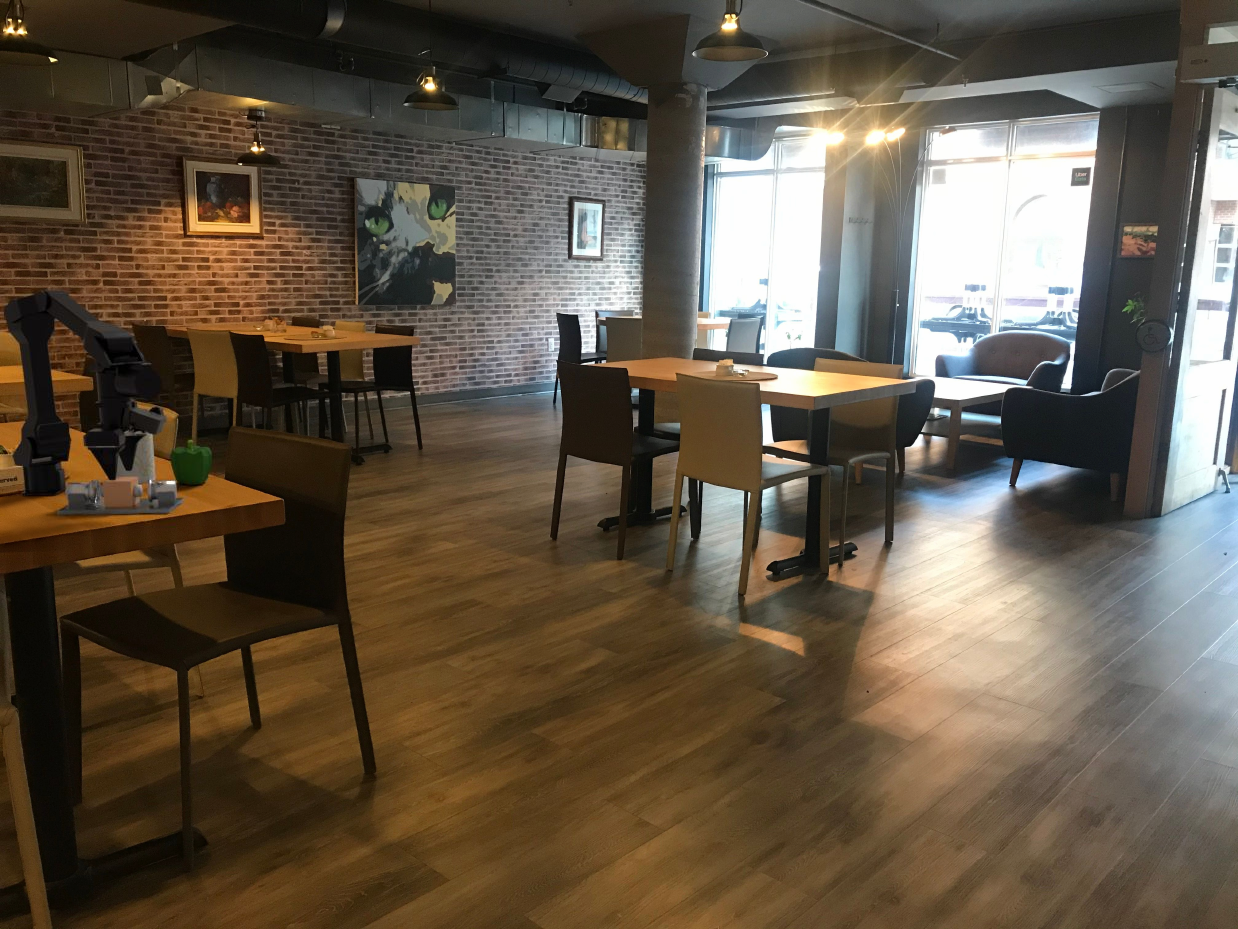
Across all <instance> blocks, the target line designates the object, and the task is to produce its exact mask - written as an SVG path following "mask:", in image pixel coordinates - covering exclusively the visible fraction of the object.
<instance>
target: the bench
mask: <svg viewBox="0 0 1238 929" xmlns="http://www.w3.org/2000/svg"><path fill="white" fill-rule="evenodd" d="M101 486H102V484H101V482H100V480H99V479H92V480H91V481H86V482H85V481H84V482H83V481H79V482H75V481H73V482H67V483H66V489H65V498H66V500H67V501H68V502H67V504H66V505H65V506H63V507H61V508H60V509H58V510H56V511H57V515H58V516H61V515H62V516H64V515H66V516H67V515H69V516H74V515H76V514H77V515H78V514H83V515H136V514H137V515H138V514H139V513H155V514H171V512H173V511H174V510H176V508H178V507H179V506H180V505H182V503H183V504H184V500H185V499H184V497H177V498H176V503H175V505H161V506H158V500H153V502H149V500H148V497H145V498H143V497H140V501H139V502H138V503H137V504H135V505H134V506H132V507H105V504H104V498H102V497H101V495H100V488H101ZM77 515H76V516H77ZM139 515H140V514H139Z"/></svg>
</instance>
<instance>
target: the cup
mask: <svg viewBox="0 0 1238 929" xmlns="http://www.w3.org/2000/svg"><path fill="white" fill-rule="evenodd" d="M139 433H140V434H147V435H146V436H145V437H144V438H143V439H142V440H141V441H140V442H139V443H138V446H137V450H136V454H135V459H134V464H133V468H132V470H131V471H126V470H125V468H124V466H123V464H122V461H121V459H120V456H119V454H118V466H117V476H116V477H138V483H140V484H146V483H145V482H147V483H148V479H152V481H153V480H154V481H156V468H155V467H156V466H155V451H154V440H153V436H154V435H153V434H149V433H142V431H139Z"/></svg>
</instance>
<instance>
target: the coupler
mask: <svg viewBox="0 0 1238 929" xmlns="http://www.w3.org/2000/svg"><path fill="white" fill-rule="evenodd" d="M143 491H144V490H143V485H142V484H139V483H138V477H116V480H109V479H108V478H107V479H105V480H103V481H102V484H101V488H100V495H101V498H103V499H104V504H105V507H132V506H134V505H135V504H137V503H138V502H139V501H140V498H142V496H143Z"/></svg>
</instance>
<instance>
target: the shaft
mask: <svg viewBox="0 0 1238 929" xmlns="http://www.w3.org/2000/svg"><path fill="white" fill-rule="evenodd" d="M146 484H147V488H146V489H147V498H148V500H149V502H153V500H158V506H161V505H175V503H176V498H178V489H177V488H178V487H177V481H176V479H175V480H154V481H152V479H148V482H147V483H146Z"/></svg>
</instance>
